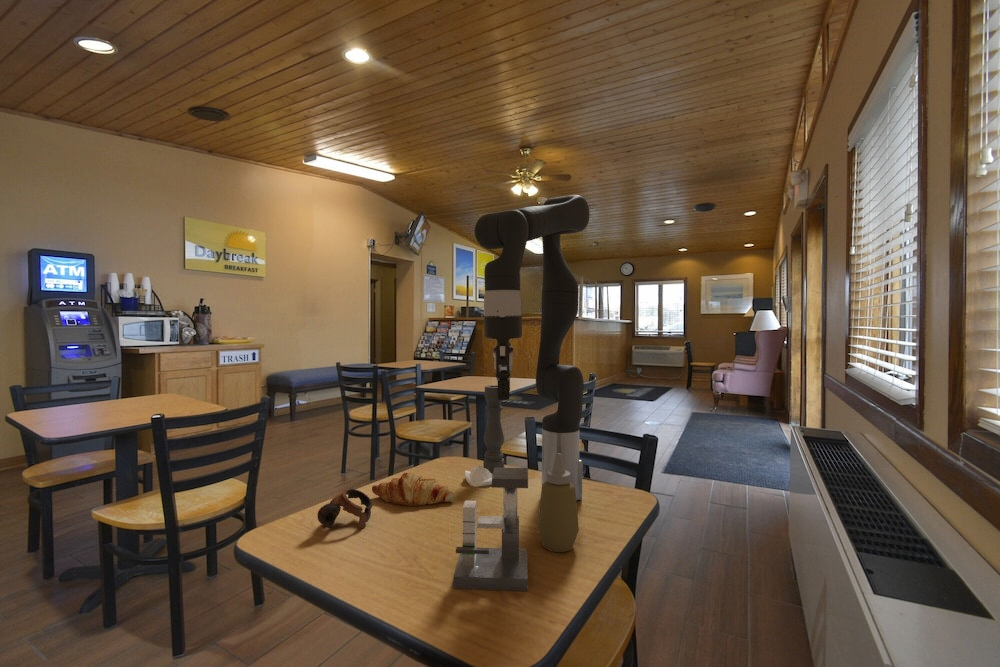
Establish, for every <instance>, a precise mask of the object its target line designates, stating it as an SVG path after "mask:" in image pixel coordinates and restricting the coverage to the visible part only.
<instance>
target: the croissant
mask: <svg viewBox="0 0 1000 667" xmlns="http://www.w3.org/2000/svg"><path fill="white" fill-rule="evenodd" d="M371 491H372V493H373V494H374V495H376V496H378V497H379V498H380V499H381V500H382V501H384V502H386V503H391V504H394V505H400V506H401V505H402V506H411V507H412V506H413V507H416V506H417V507H418V506H425V505H433V504H438V503H443V504H444V503H448V502H451V501H453V500H455V499H456V493H455V492H454V491H452V490H451V489H450V488H449V487H448V486H446V485H442V484H441V483H439V482H438V481H436V479H435V478H424V477H423V476H422V475H420V474H419V473H414V472H403V473H402V474H401V477H400V478H399V477H394V478H392V479H391V480H390V481H389V482H385V481H384V482H380V483H379V484H377V485H376V484H375V485H372V486H371Z"/></svg>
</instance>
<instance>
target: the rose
mask: <svg viewBox="0 0 1000 667" xmlns="http://www.w3.org/2000/svg"><path fill="white" fill-rule="evenodd" d="M492 475H493V474H492V473H490V471H489V470H488V469H486V468H483V466H482V465H476V466H474V467H472V468H470V470H464V477H465V480H466V482H467V483H468V485H469V486H471V487H474V488H480V487H488V486H492Z"/></svg>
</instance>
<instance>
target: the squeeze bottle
mask: <svg viewBox="0 0 1000 667" xmlns="http://www.w3.org/2000/svg"><path fill="white" fill-rule="evenodd" d="M570 475H571V474H570V472H568V471H566V470H565V468H564V463H563V458H562V454H561V453H556V455H555V459H554V464H553V468H552V470H549V471H547V481H546V482H544V483H543V484H542V483H541V490H540V491H541V492H540V499H539V500H540V502H539V509H538V519H537V531H538V534H539V537H540V540H541V544H542V546H543V547H544V548H545V549H546V550H548V551H551V552H556V553H566V552H568V551H569V552H570V550H572V549H573V547H574V545H575V542H576V540H577V536H578V534H579V531H580V526H579V517H578V506H577V501H576V492H575V486H574V485H573V484H572V483H571V482H570Z"/></svg>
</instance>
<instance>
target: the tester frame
mask: <svg viewBox="0 0 1000 667" xmlns="http://www.w3.org/2000/svg"><path fill="white" fill-rule="evenodd" d="M501 517H503V514H502V515H501ZM461 547H477V500H465V501H464V503H463V506H462V545H461ZM488 548H489V554H464V553H459V557H458V559H457V560H458V561H457V564H456V567H455V571H454V575H453V589H456V590H458V589H459V590H477V591H478V590H479V591H481V590H485V591H508V592H509V591H515V592H528V590H529V589H528V582H529V581H528V578H529V577H528V576H529V575H528V549H527V548H520V516H519V515H517V532H516V533H514V534H507V533H504V532H503V529H501V548H500V547H488Z"/></svg>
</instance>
